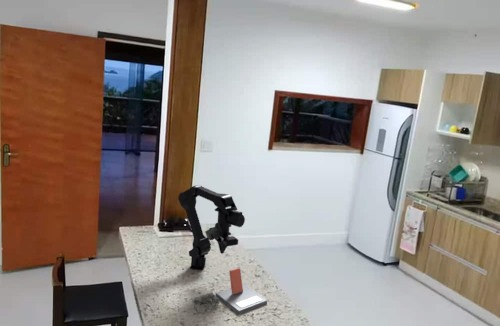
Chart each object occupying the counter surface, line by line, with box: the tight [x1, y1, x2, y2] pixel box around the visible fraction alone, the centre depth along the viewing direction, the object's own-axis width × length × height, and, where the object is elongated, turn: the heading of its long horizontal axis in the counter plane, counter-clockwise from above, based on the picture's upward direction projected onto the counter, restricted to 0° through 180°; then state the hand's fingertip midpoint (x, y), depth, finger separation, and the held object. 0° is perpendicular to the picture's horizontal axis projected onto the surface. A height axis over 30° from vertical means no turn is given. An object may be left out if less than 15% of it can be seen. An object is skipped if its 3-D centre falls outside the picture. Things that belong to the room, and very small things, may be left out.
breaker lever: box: [228, 267, 243, 295], centre depth 176 cm, size 2×6×10 cm, turn 131°
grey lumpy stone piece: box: [191, 292, 222, 314], centre depth 166 cm, size 11×8×4 cm
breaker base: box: [215, 283, 268, 315], centre depth 174 cm, size 16×16×2 cm
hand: (221, 253), depth 188 cm, fingers closed
